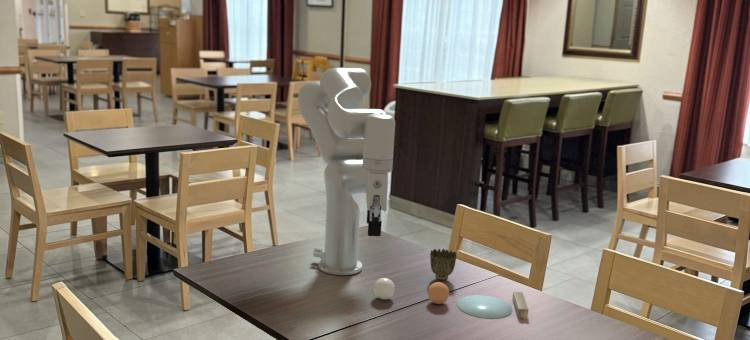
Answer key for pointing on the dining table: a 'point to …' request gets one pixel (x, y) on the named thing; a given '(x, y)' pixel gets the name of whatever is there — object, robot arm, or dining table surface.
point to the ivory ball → (384, 288)
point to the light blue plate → (484, 306)
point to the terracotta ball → (438, 293)
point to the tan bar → (520, 305)
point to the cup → (442, 263)
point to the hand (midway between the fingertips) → (373, 229)
